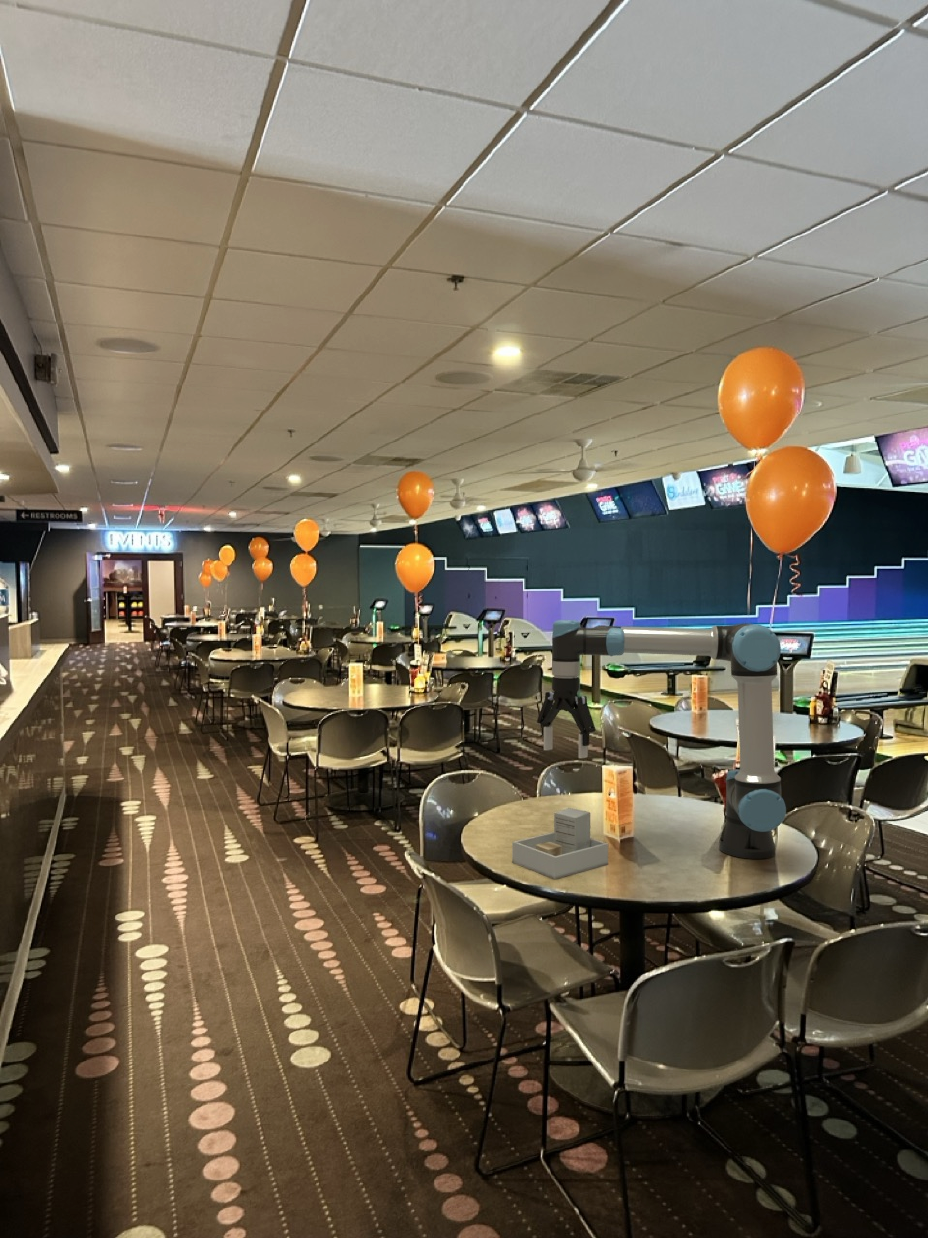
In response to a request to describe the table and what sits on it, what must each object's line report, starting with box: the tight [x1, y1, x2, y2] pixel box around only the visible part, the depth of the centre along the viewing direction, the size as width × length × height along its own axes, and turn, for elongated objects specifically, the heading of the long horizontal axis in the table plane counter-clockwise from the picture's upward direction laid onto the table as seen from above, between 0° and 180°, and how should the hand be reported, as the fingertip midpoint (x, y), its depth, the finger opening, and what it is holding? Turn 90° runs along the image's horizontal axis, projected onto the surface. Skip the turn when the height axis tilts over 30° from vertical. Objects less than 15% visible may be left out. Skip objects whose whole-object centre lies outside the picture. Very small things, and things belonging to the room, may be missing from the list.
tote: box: [511, 831, 609, 880], centre depth 223 cm, size 17×20×6 cm
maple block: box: [535, 842, 562, 856], centre depth 221 cm, size 5×5×5 cm
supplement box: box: [553, 807, 591, 855], centre depth 226 cm, size 7×7×13 cm
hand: (565, 753), depth 227 cm, fingers open, 13 cm apart
